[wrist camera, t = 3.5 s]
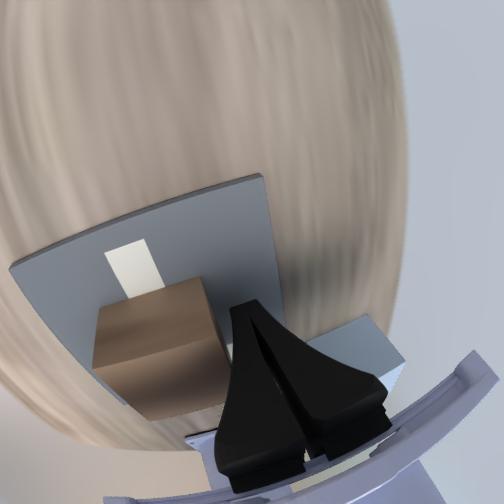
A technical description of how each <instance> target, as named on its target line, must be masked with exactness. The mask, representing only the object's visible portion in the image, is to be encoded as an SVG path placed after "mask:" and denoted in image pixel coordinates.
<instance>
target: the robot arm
mask: <svg viewBox="0 0 504 504" xmlns="http://www.w3.org/2000/svg"><path fill="white" fill-rule="evenodd" d="M229 312H230V316H231V322H232V334H233V351H232V366H231V375H230V382H229V387H228V393H227V398H226V402H225V406H224V409H223V413H222V417H221V420H220V423H219V426H218V429H217V430H215V431H211V432H207V433H203V434H199V435H195V436H191V437H187V438H185V443H187V444H188V445H190V446H191V447H193V448H194V449H195V450H197V451H199V452H200V453H201V455H202V459H203V462H204V466H205V469H206V473H207V476H208V480H209V483H210V486H211V489H212V490H211V491H206V492H201V493H195V494H189V495H182V496H174V497H165V498H153V499H134V498H130V497H103V502H104V504H446V502H445V501H444V499H443V497H442V496H441V494H440V492H439V491H438V489H437V488H436V486H435V485H434V483H433V481H432V480H431V478H430V477H429V475H428V474H427V472H426V470H425V469H424V467H423V466H422V464H421V463H420V461H419V460H418V459H419V458H420V457H422V456H423V455H424V454H426V453H427V452H428V451H429V450H430V449H432V448H433V447H434V446H435V445H437V444H438V443H439V442H440V441H441V440H443V438H445V437H446V436H447V435H448V434H449V433H450V432H451V431H453V430H454V429H455V428H456V427H457V426H458V425H459V424H460V423H461V422H462V421H463V420H464V419H465V418H466V417H467V416H468V415H469V414H470V413H471V412H472V411H473V410H474V409H475V408H476V407H477V406H478V405H479V404H480V403H481V402H482V400H483V399H484V398H485V397H486V396H487V395H488V394H489V393H490V392H491V390H492V389H493V388H494V387H495V386H496V385H497V383H498V382H499V381H500V379H499V378H498V376H497V375H496V374H495V373H494V372H493V370H492V369H491V368H490V367H489V366H488V364H487V363H486V362H485V361H484V360H483V359H482V358H481V356H480V355H479V354H478V353H477V352H476V351H475V350H473V351H472V352H471V353H470V354H469V355H467V356H466V357H465V358H464V359H463V360H462V361H461V362H460V363H459V364H458V366H457V367H456V368H455V370H454V372H453V373H451V374H450V375H449V376H448V377H447V378H446V379H444V380H443V381H442V382H441V383H439V384H438V385H437V386H436V387H434V388H433V389H432V390H430V391H429V392H428V393H427V394H425V395H424V396H423V397H421V398H420V399H418V400H417V401H416V402H414V403H413V404H412V405H410V406H409V407H407V408H406V409H404V410H403V411H401V412H400V413H398V414H397V415H395V416H394V417H392V418H390V419H389V418H388V417H387V416H386V414H385V412H386V409H385V408H384V406H383V405H382V404H383V402H384V401H385V399H386V397H387V394H388V390H387V389H386V387H385V386H384V384H383V383H382V382H381V381H380V380H379V379H378V378H377V377H376V376H375V375H374V374H371V373H367V372H364V371H361V370H359V369H356V368H353V367H351V366H348V365H346V364H343V363H341V362H339V361H337V360H335V359H333V358H331V357H329V356H327V355H325V354H323V353H321V352H319V351H318V350H316V349H314V348H313V347H311V346H310V345H308V344H306V343H305V342H303V341H302V340H301V339H299V338H298V337H297V336H295V335H294V334H293V333H291V332H290V331H289V330H288V329H286V328H285V327H284V326H283V325H282V324H281V323H279V322H278V321H277V320H276V319H275V318H274V317H273V316H272V315H271V314H270V313H269V312H268V311H267V310H266V309H265V308H264V307H263V306H262V304H261V303H260V302H259V301H258V300H257V299H254V300H251V301H248V302H245V303H242V304H239V305H236V306H233V307H231V308H230V309H229ZM275 381H276V382H275ZM276 383H277V384H276ZM277 385H278V386H277ZM278 387H279V388H278ZM279 389H280V390H279ZM280 391H281V392H280ZM281 393H282V394H281ZM282 395H283V396H282ZM394 432H396V433H394ZM393 433H394V434H393ZM391 434H393V435H392V436H390V435H391ZM388 436H390V437H389V438H388V439H386V440H385V441H383V442H382V443H380V444H379V445H378V446H377V448H376V449H375V450H374V451H373V452H371V453H370V454H369V456H370V458H369V459H368V460H366V461H364V462H362V463H360V464H358V465H356V466H354V467H352V468H350V469H348V470H346V471H344V472H342V473H340V474H338V475H336V476H333V477H331V478H329V479H327V480H325V481H323V482H320V483H318V484H315V485H313V486H311V487H308V488H306V489H303V490H301V491H298V492H296V493H293V491H292V489H291V487H290V485H289V484H292V483H294V482H297V481H300V480H302V479H305V478H307V477H310V476H312V475H314V474H317V473H319V472H321V471H324V470H326V469H328V468H331V467H332V466H335V465H337V464H339V463H341V462H343V461H345V460H347V459H349V458H351V457H353V456H355V455H357V454H359V453H360V452H362V451H364V450H366V449H367V448H369V447H371V446H373V445H375V444H376V443H378V442H380V441H381V440H383V439H385V438H386V437H388ZM305 448H306V450H307V453H308V455H309V457H310V459H311V460H310V461H307V462H305V461H304V453H305Z"/></svg>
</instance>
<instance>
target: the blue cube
mask: <svg viewBox="0 0 504 504" xmlns="http://www.w3.org/2000/svg"><path fill="white" fill-rule="evenodd" d="M307 344H308V345H310V346H311V347H313V348H314V349H316V350H318V351H319V352H321V353H323V354H325V355H327V356H329V357H331V358H333V359H335V360H337V361H339V362H341V363H343V364H346V365H348V366H351V367H353V368H356V369H359V370H361V371H364V372H367V373H371V374H374V375H375V376H376V377H377V378H378V379H379V380H380V381H381V382H382V383H383V384H384V386H385V387H386V389H387V390H388V394H389V393H390V391H391V389H392V388H393V386H394V384H395V382H396V380H397V378H398V376H399V374H400V372H401V370H402V368H403V366H404V364H405V362H406V361H405V359H404V358H403V357H402V355H401V354H400V353H399V352H398V351H397V349H396V348H395V347H394V346H393V344H392V343H391V342H390V341H389V340H388V338H387V337H386V336H385V335H384V334H383V332H382V331H381V330H380V329H379V328H378V326H377V325H376V324H375V323H374V322H373V320H372V319H371V318H370V317H369V316H368V315H367V314H366V315H364V316H362V317H360V318H358V319H356V320H354V321H352V322H350V323H348V324H345V325H343V326H341V327H339V328H337V329H335V330H332V331H330V332H328V333H326V334H323V335H321V336H319V337H317V338H314V339H312V340H310V341H307Z"/></svg>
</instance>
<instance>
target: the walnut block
mask: <svg viewBox="0 0 504 504" xmlns="http://www.w3.org/2000/svg"><path fill="white" fill-rule="evenodd" d="M231 366H232V359H231V356H230V353H229V350H228V347H227V344H226V342H225V339H224V337H223V335H222V332H221V330H220V327H219V325H218V322H217V320H216V317H215V315H214V312H213V309H212V307H211V304H210V302H209V299H208V296H207V294H206V291H205V289H204V286H203V283H202V280H201V278H200V276H197V277H194V278H191V279H188V280H185V281H182V282H179V283H176V284H173V285H170V286H167V287H163V288H160V289H157V290H154V291H151V292H148V293H145V294H142V295H139V296H136V297H133V298H129V299H126V300H123V301H120V302H117V303H114V304H111V305H108V306H104V307H101V308H99V314H98V320H97V327H96V334H95V342H94V351H93V361H92V370H93V371H94V372H95V373H96V374H97V375H98V376H99V377H100V378H101V379H102V380H103V381H104V382H105V383H106V384H107V385H108V386H109V387H110V388H111V389H112V390H113V391H114V392H115V393H117V394H118V395H119V396H120V397H121V398H122V399H123V400H124V401H126V402H127V403H128V404H129V405H130V406H131V407H133V408H134V409H135V410H136V411H137V412H139V413H140V414H141V415H142V416H143V417H145V418H146V419H147V420H148V421H155V420H160V419H164V418H169V417H173V416H178V415H182V414H186V413H190V412H194V411H198V410H201V409H205V408H209V407H212V406H216V405H219V404H222V403H225V402H226V398H227V393H228V387H229V382H230V375H231Z"/></svg>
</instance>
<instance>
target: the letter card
mask: <svg viewBox="0 0 504 504" xmlns="http://www.w3.org/2000/svg"><path fill="white" fill-rule="evenodd" d="M9 272H10V274H11V275H12V277H13V278H14V280H15V282H16V283H17V285H18V286H19V288H20V289H21V291H22V292H23V294H24V295H25V297H26V298H27V300H28V301H29V302H30V304H31V305H32V307H33V308H34V309H35V311H36V312H37V313H38V315H39V316H40V317H41V319H42V320H43V321H44V323H45V324H46V325H47V326H48V328H49V329H50V330H51V331H52V333H53V334H54V335H55V336H56V337H57V339H58V340H59V341H60V342H61V343H62V344H63V345H64V347H65V348H66V349H67V350H68V351H69V352H70V353H71V354H72V356H73V357H74V358H75V359H76V360H77V361H78V362H79V363H80V364H81V365H82V366H83V367H84V368H85V369H86V370H87V371H88V372H89V373H90V374H91V375H92V376H93V377H94V378H95V379H96V380H97V381H98V382H99V383H100V384H101V385H102V386H103V387H104V388H105V389H106V390H108V391H109V392H110V393H111V394H112V395H113V396H114V397H115V398H116V399H118V400H119V401H120V402H121V403H122V404H123V405H126V404H128V403H127V402H126V401H124V400H123V399H122V398H121V397H120V396H119V395H118V394H117V393H115V392H114V391H113V390H112V389H111V388H110V387H109V386H108V385H107V384H106V383H105V382H104V381H103V380H102V379H101V378H100V377H99V376H98V375H97V374H96V373H95V372H94V371H93V370H92V361H93V351H94V342H95V334H96V327H97V320H98V314H99V308H101V307H104V306H108V305H111V304H114V303H117V302H120V301H123V300H126V299H129V298H133V297H136V296H139V295H142V294H145V293H148V292H151V291H154V290H157V289H160V288H163V287H167V286H170V285H173V284H176V283H179V282H182V281H185V280H188V279H191V278H194V277H197V276H200V278H201V280H202V283H203V286H204V289H205V291H206V294H207V296H208V299H209V302H210V304H211V307H212V309H213V312H214V315H215V317H216V320H217V322H218V325H219V327H220V330H221V332H222V335H223V337H224V339H225V342H226V344H227V347H228V350H229V353H230V356H231V359H232V351H233V334H232V322H231V316H230V312H229V309H230V308H231V307H233V306H236V305H239V304H242V303H245V302H248V301H251V300H254V299H257V300H258V301H259V302H260V303H261V304H262V306H263V307H264V308H265V309H266V310H267V311H268V312H269V313H270V314H271V315H272V316H273V317H274V318H275V319H276V320H277V321H278V322H279V323H281V324H282V325H283V326H284V327H285V328H286V324H285V316H284V309H283V301H282V294H281V287H280V280H279V273H278V266H277V259H276V253H275V246H274V239H273V233H272V226H271V220H270V214H269V207H268V201H267V195H266V189H265V183H264V177H263V176H262V175H261V174H255V175H251V176H247V177H244V178H240V179H236V180H233V181H229V182H226V183H222V184H219V185H215V186H212V187H208V188H205V189H202V190H198V191H195V192H192V193H189V194H186V195H183V196H179V197H176V198H173V199H170V200H167V201H164V202H161V203H158V204H155V205H152V206H150V207H147V208H144V209H141V210H138V211H135V212H133V213H130V214H127V215H124V216H122V217H119V218H116V219H114V220H111V221H109V222H106V223H103V224H101V225H98V226H96V227H93V228H91V229H88V230H86V231H83V232H81V233H79V234H76V235H74V236H72V237H69V238H67V239H65V240H62V241H60V242H58V243H55V244H53V245H51V246H49V247H46V248H44V249H42V250H40V251H38V252H36V253H34V254H31V255H29V256H27V257H25V258H23V259H21V260H19V261H17V262H15V263H13V264H12V265H11V266H10V268H9Z"/></svg>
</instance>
